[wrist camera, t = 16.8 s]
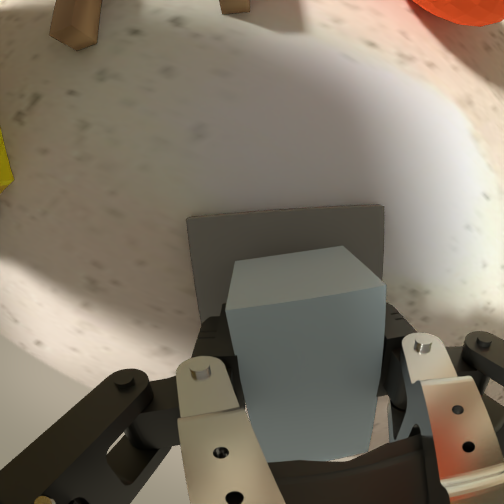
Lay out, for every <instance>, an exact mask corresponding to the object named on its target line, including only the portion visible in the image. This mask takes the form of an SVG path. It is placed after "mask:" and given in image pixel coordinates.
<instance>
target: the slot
mask: <svg viewBox="0 0 504 504" xmlns="http://www.w3.org/2000/svg"><path fill="white" fill-rule="evenodd" d="M219 2H220V6H221V11H222V14H230V13H241V12H250V0H219ZM101 3H102V0H56V3H55V7H54V12H53V17H52V22H51V27H50V33H49V36H51V37H53V38H55V39H56V40H58V41H60V42H62V43H64V44H65V45H67V46H69V47H71V48H72V49H74V50H76V51H78V50H80V49H83V48H86V47H88V46H91V45H94V44H96V43H97V38H98V28H99V19H100V11H101Z"/></svg>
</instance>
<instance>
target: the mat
mask: <svg viewBox="0 0 504 504" xmlns="http://www.w3.org/2000/svg"><path fill="white" fill-rule="evenodd" d="M186 222H187V231H188V238H189V246H190V254H191V261H192V268H193V275H194V282H195V288H196V295H197V301H198V307H199V313H200V319H201V325H202V323H203V322H204V321H205V320H206V319H208V318H209V317H211V316H220V313H221V309H222V304H223V303H227V298H228V293H229V288H230V283H231V278H232V274H233V269H234V264H235V261H239V260H246V259H253V258H261V257H268V256H275V255H282V254H288V253H295V252H302V251H309V250H316V249H323V248H330V247H337V246H344V247H345V248H346V249H347V250H348V251H350V252H351V253H352V254H353V255H354V256H355V257H356V258H357V259H359V260H360V261H361V262H362V263H363V264H364V265H365V266H366V267H367V268H369V269H370V270H371V271H372V272H373V273H374V274H375V275H376V276H377V277H378V278H379V279H381V280H382V272H383V252H384V206H382V205H379V204H378V205H352V206H330V207H312V208H295V209H280V210H266V211H252V212H240V213H228V214H216V215H205V216H195V217H189V218H187V219H186Z"/></svg>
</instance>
